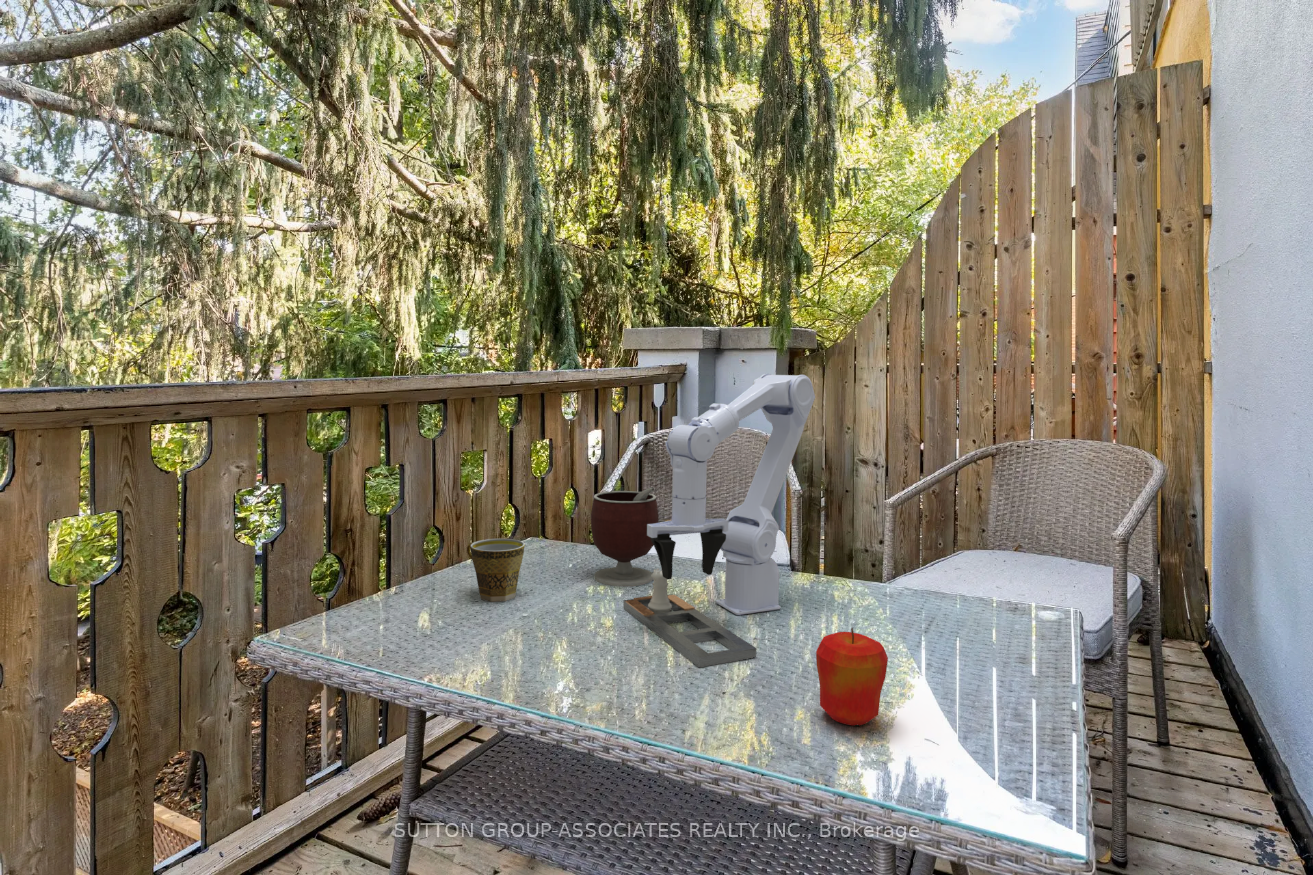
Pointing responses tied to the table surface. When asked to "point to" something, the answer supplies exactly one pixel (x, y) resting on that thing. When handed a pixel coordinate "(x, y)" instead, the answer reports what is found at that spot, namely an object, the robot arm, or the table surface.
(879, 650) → the apple
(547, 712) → the table surface
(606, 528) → the mate gourd
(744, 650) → the hole rail
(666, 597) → the rook chess piece
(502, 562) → the ceramic cup
